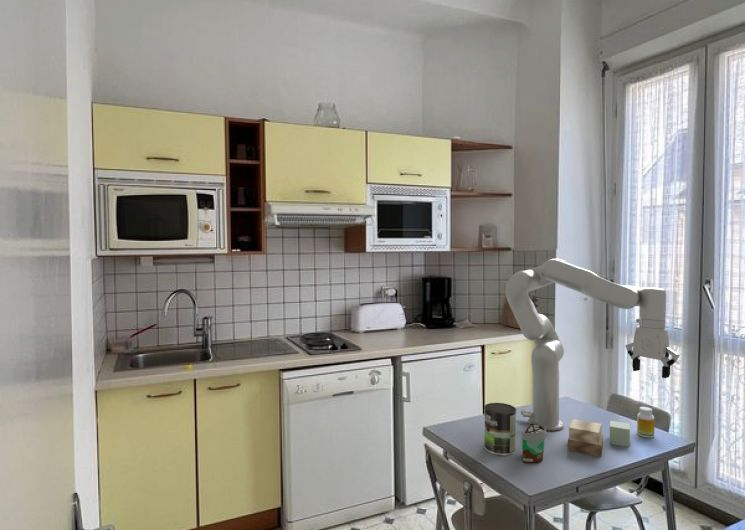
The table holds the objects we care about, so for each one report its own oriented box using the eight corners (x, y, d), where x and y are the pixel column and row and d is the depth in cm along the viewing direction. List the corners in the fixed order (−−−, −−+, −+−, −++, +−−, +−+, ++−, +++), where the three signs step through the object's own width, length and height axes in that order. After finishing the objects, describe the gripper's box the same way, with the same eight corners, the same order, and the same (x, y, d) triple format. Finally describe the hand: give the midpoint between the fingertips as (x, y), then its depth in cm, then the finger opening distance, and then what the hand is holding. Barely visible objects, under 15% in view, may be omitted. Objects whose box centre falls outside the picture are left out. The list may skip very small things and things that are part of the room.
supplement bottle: (656, 438, 161) (657, 411, 161) (640, 437, 162) (640, 410, 162) (650, 432, 166) (651, 406, 166) (634, 431, 167) (634, 405, 167)
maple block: (569, 439, 152) (569, 427, 152) (572, 430, 160) (572, 419, 160) (599, 445, 147) (599, 432, 147) (601, 435, 155) (601, 423, 155)
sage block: (609, 443, 157) (609, 426, 157) (610, 437, 163) (610, 420, 162) (629, 447, 154) (629, 429, 154) (629, 440, 160) (629, 423, 159)
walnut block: (567, 451, 152) (567, 439, 152) (571, 440, 161) (571, 429, 161) (601, 458, 147) (601, 445, 147) (602, 446, 156) (603, 434, 156)
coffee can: (497, 458, 146) (497, 414, 146) (477, 445, 156) (478, 404, 155) (522, 452, 150) (522, 410, 150) (502, 440, 160) (502, 400, 159)
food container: (542, 469, 138) (542, 437, 138) (521, 464, 142) (521, 432, 141) (550, 454, 149) (550, 424, 149) (530, 450, 152) (531, 420, 152)
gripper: (620, 321, 160) (619, 369, 161) (673, 328, 145) (671, 382, 146) (633, 319, 164) (631, 366, 164) (685, 327, 149) (684, 379, 149)
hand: (650, 374), depth 155 cm, fingers open, 9 cm apart
